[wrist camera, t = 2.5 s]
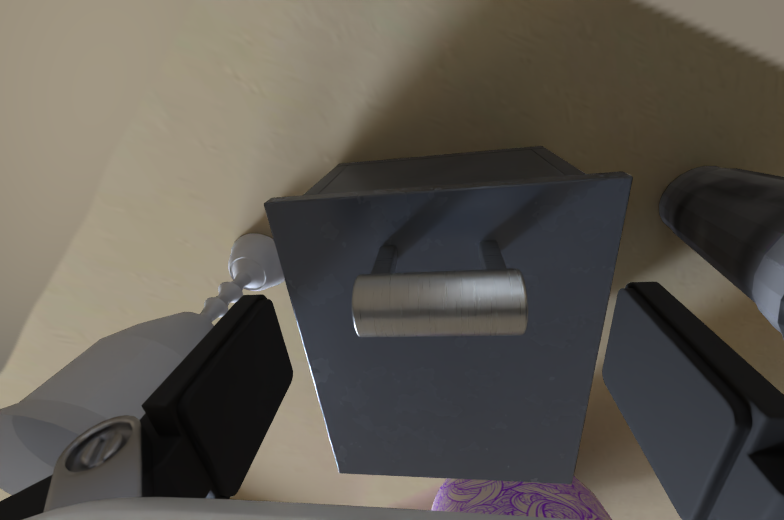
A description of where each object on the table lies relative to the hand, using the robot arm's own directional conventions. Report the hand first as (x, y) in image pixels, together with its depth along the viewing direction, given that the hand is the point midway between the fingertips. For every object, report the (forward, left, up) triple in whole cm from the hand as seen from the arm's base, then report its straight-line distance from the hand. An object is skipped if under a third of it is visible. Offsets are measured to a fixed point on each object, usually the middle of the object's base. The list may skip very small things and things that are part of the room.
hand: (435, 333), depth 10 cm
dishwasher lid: (+6, 0, -6) cm, 9 cm away
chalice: (+6, -15, -17) cm, 23 cm away
